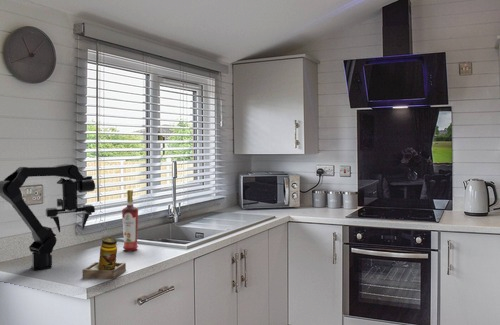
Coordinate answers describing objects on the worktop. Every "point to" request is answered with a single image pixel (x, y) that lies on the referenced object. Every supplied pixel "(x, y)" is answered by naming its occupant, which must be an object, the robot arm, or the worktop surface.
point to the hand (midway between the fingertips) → (71, 230)
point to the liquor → (130, 223)
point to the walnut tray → (104, 272)
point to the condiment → (107, 255)
